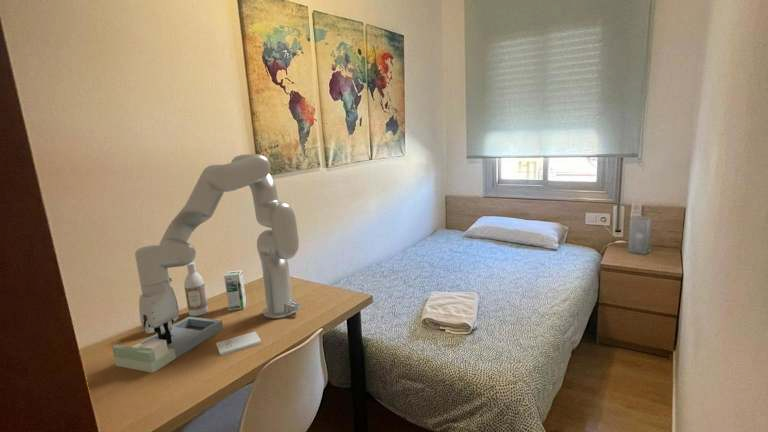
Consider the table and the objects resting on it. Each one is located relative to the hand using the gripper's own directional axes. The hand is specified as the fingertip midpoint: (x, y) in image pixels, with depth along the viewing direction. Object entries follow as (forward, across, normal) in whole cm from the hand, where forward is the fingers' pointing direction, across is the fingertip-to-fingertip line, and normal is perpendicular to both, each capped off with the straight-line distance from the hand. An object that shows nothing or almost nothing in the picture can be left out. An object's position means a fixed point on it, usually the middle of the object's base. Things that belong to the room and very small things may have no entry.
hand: (166, 343), depth 122 cm
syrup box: (+4, -36, -4) cm, 37 cm away
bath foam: (+4, -28, -16) cm, 33 cm away
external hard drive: (+5, -11, +17) cm, 21 cm away
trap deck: (+4, -5, -4) cm, 7 cm away
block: (+1, +5, 0) cm, 5 cm away
